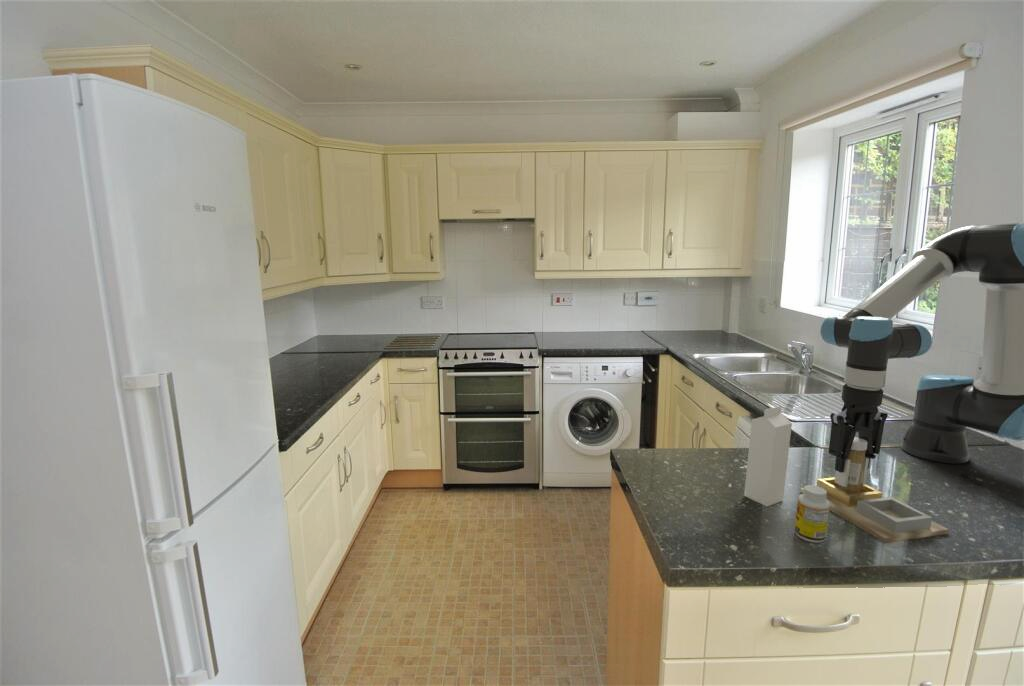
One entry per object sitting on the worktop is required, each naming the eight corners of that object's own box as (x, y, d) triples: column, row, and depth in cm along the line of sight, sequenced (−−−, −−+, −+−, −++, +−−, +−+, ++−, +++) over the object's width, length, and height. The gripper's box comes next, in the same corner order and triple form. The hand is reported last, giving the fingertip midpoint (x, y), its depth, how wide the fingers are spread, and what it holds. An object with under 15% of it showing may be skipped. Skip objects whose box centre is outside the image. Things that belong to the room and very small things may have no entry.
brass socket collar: (847, 485, 124) (848, 475, 123) (881, 503, 115) (882, 492, 115) (816, 488, 122) (817, 479, 122) (848, 507, 113) (849, 496, 113)
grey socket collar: (889, 507, 113) (891, 496, 113) (930, 528, 105) (932, 517, 104) (856, 511, 111) (857, 500, 111) (894, 533, 103) (896, 522, 102)
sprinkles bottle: (863, 495, 118) (871, 440, 116) (854, 500, 115) (862, 444, 113) (842, 487, 122) (849, 434, 119) (832, 492, 119) (840, 438, 117)
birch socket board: (855, 486, 126) (855, 482, 126) (947, 533, 105) (948, 529, 105) (800, 492, 122) (800, 488, 122) (884, 542, 101) (885, 538, 101)
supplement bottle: (797, 526, 107) (802, 480, 105) (827, 535, 103) (834, 488, 102) (791, 537, 103) (796, 489, 101) (822, 547, 99) (829, 498, 97)
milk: (783, 501, 118) (794, 409, 114) (766, 507, 115) (777, 413, 111) (759, 490, 123) (769, 402, 119) (743, 495, 120) (752, 406, 116)
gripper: (879, 380, 119) (866, 473, 124) (817, 383, 116) (805, 479, 120) (910, 388, 112) (895, 487, 116) (845, 392, 108) (831, 494, 113)
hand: (849, 483), depth 118 cm, fingers closed on sprinkles bottle, 4 cm apart
